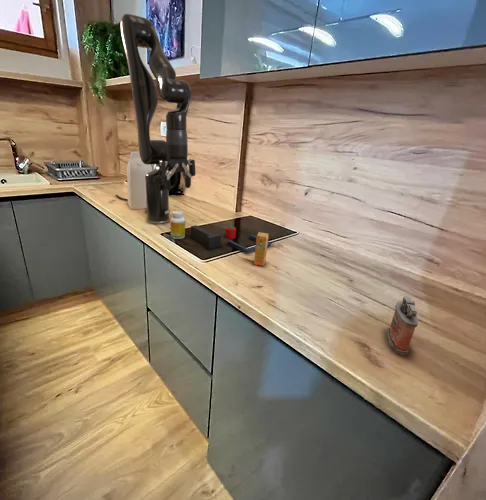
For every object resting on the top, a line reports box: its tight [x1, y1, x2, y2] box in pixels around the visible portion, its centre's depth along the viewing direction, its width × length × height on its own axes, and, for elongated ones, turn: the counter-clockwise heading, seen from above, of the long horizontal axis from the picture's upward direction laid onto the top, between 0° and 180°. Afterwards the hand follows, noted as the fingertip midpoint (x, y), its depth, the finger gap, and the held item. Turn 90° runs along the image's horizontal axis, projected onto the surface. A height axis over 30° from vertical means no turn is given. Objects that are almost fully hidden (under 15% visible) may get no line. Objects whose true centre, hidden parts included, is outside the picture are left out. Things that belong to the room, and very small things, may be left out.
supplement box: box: [253, 231, 270, 267], centre depth 94 cm, size 3×3×10 cm
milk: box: [126, 151, 153, 210], centre depth 149 cm, size 12×12×26 cm
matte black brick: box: [190, 224, 222, 251], centre depth 111 cm, size 14×5×4 cm, turn 39°
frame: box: [227, 234, 272, 255], centre depth 110 cm, size 10×12×2 cm
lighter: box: [386, 295, 419, 356], centre depth 62 cm, size 8×3×10 cm, turn 163°
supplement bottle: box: [169, 210, 186, 240], centre depth 113 cm, size 5×5×10 cm
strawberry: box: [224, 226, 237, 240], centre depth 117 cm, size 4×4×4 cm
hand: (178, 188), depth 114 cm, fingers open, 8 cm apart
